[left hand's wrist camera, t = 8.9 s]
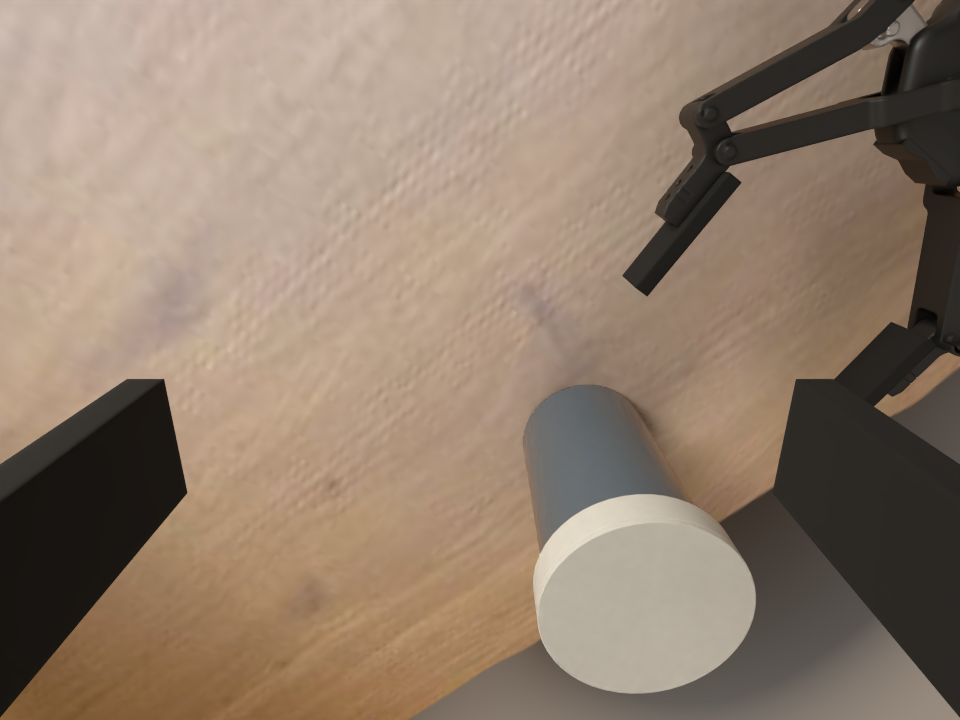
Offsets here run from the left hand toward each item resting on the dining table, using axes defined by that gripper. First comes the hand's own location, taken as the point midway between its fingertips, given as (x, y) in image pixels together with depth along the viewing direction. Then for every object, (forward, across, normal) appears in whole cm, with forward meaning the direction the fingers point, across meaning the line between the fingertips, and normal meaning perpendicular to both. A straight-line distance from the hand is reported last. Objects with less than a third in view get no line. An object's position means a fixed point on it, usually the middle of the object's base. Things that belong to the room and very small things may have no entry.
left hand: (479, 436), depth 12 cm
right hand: (+18, +13, -5) cm, 23 cm away
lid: (+9, +7, -13) cm, 18 cm away
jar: (+24, +7, -13) cm, 29 cm away
